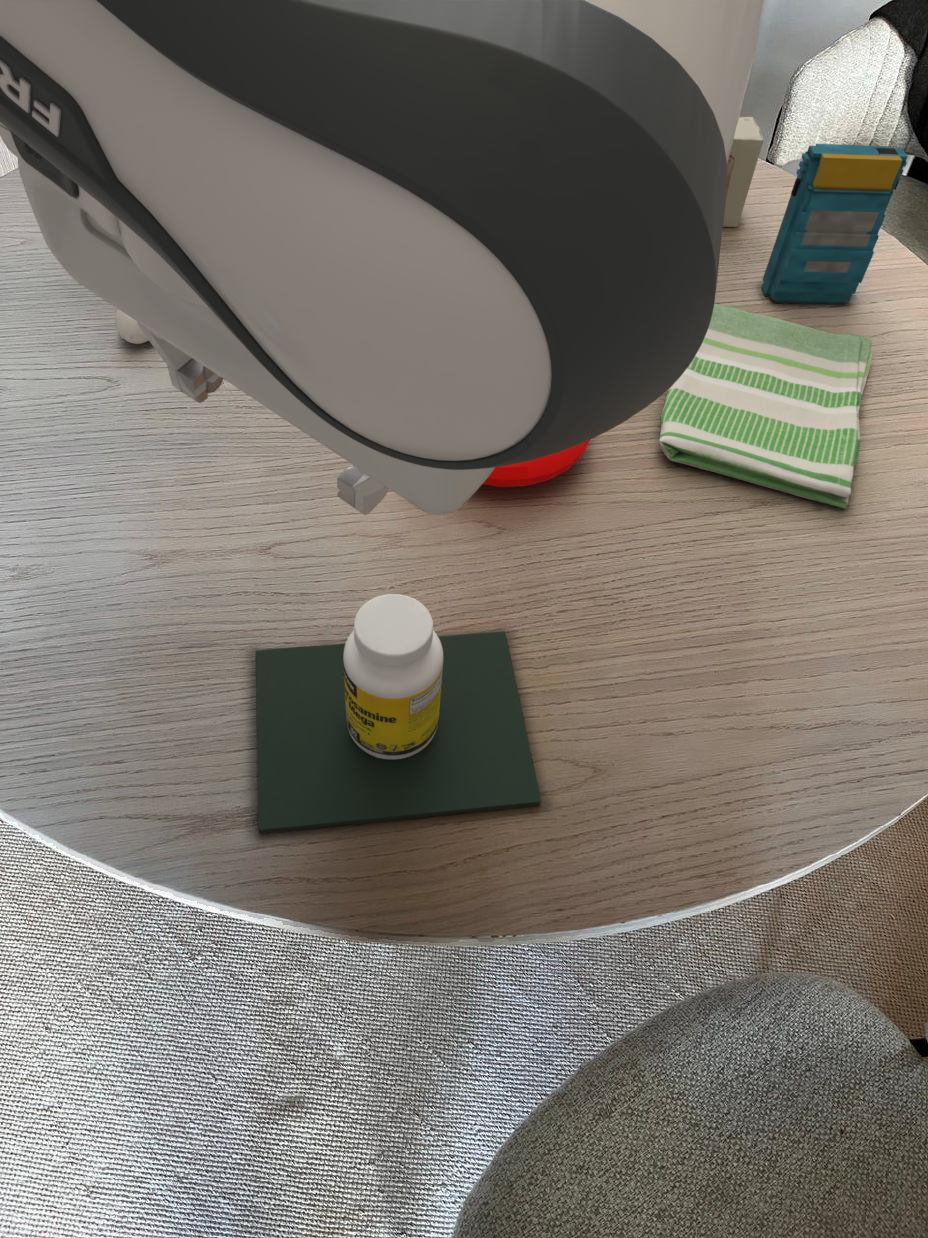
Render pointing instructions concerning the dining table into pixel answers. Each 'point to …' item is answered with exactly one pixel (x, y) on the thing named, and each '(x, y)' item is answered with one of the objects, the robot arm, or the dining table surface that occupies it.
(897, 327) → the dining table surface
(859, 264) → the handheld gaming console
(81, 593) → the dining table surface
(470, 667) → the mat
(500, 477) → the flat cone with hole
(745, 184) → the small cream box
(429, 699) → the pill bottle
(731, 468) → the dish towel
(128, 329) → the egg
